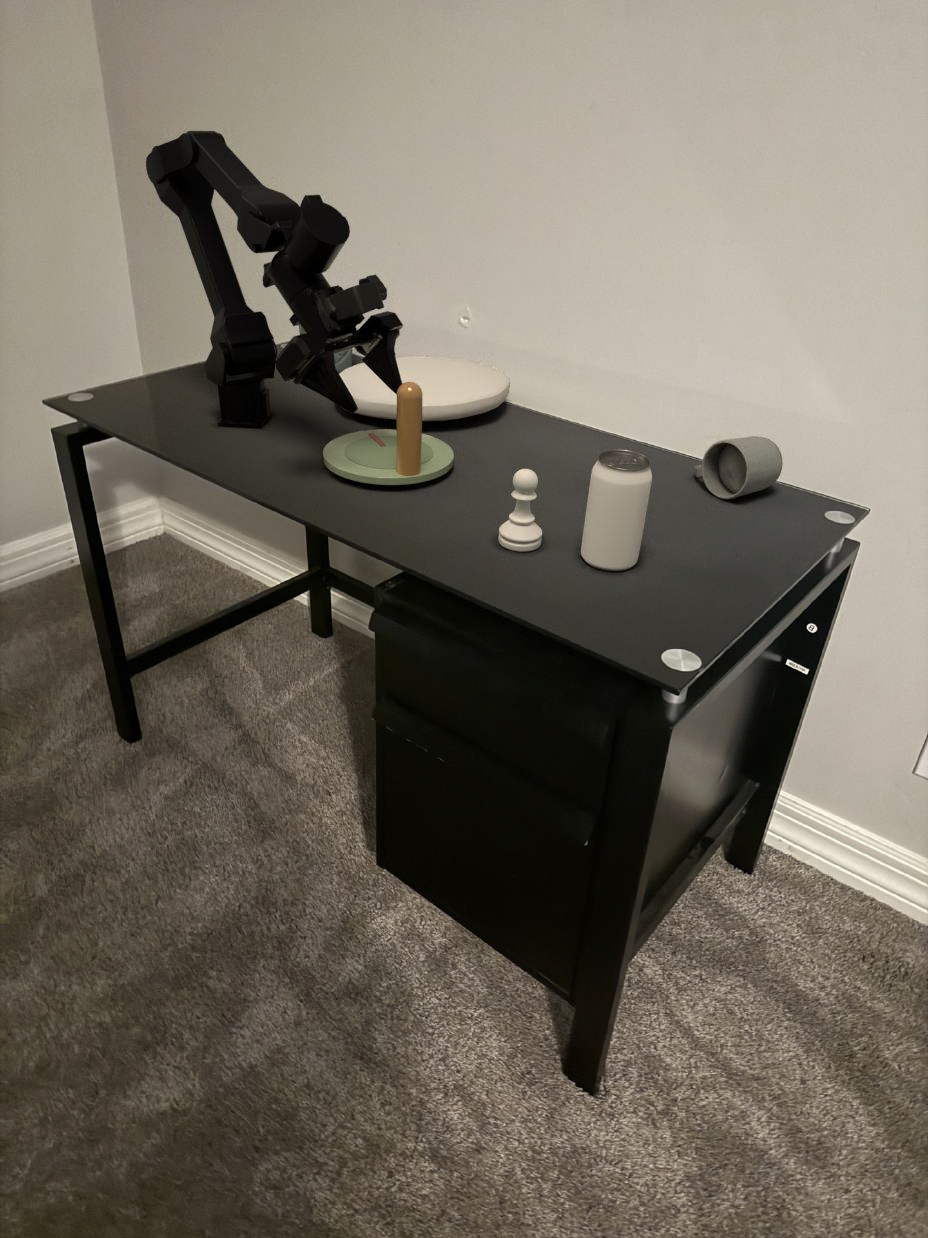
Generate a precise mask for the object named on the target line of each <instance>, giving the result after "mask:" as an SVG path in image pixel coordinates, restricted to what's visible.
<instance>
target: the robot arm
mask: <svg viewBox="0 0 928 1238" xmlns="http://www.w3.org/2000/svg"><path fill="white" fill-rule="evenodd" d="M145 169H146V174H147V176H148V179H149V181H150V182H151V183H152V185H153V187H154V189H155V191H156V193H157V194H156V195H157V196H158V198H159V200H160V202H161V203H163V205H165V206H166V207H167V208H168V209H169V210H170V211H171V212H172V213H173V214H174V215H175V216H177V218H178V220H179V222H180V225H181V228H182V231H183V233H184V236H185V239H186V243H187V245H188V248H189V249H190V250H189V251H190V254H191V255H192V258H193V261H194V264H195V267H196V270H197V272H198V276H199V277H200V281H201V283H202V286H203V289H204V292H205V295H206V298H207V301H208V304H209V306H210V309H211V312H212V315H213V323H212V327H211V331H210V336H209V341H210V344H211V347H212V348H211V350H210V351H209V354H208V356H207V358H206V360H205V362H204V365H203V367H204V371H205V375H206V379H207V380H208V381H209V382H212V384H215V385H216V386H217V392H218V394H217V395H218V403H219V413H220V418H219V419H218V420H217V425H218V426H230V427H245V428H246V427H248V428H261V427H263V426H264V424H265V423H266V421H267V420H268V419H269V417H270V415H271V414H272V413H271V401H270V388H269V387H266V382H265V380H268V379H270V380H272V379H274V378H275V372H276V371H277V372H278V374H279V375H280V376H281V377H280V378H282V380H283V381H284V382H288V381H292V380H293V381H292V382H293V384H295V385H296V386H297V385H302V386H303V387H306V388H307V389H309V390H311V391H313V392H315V393H317V394H319V395H320V396H322V397H324V398H325V399H328V400H329V401H331V402H332V403H333V404H336V405H337V406H339V407H340V408H341V409H343V408H344V409H345V410H344V409H343V410H344V411H346V410H347V412H348V413H350V414H356V413H355V412H356V411H357V410H358V407H357V405H356V403H355V401H354V399H353V397H352V395H351V393H350V392H349V390H348V388H347V387H346V385H345V383H344V382H343V380H342V378H341V377H340V375H339V374H340V372H337V370H336V368H335V360H334V354H335V353H338V352H341V351H344V350H348V349H351V348H352V349H353V348H354V349H355V351H356V352H357V353H358V354H359V355H362V356H364V357H363V358H362V359H361V361H362V363H365V364H366V365H367V366H368V367H369V368H370V369H371V370H372V371H373V372H374V373H375V374H376V375H377V376H378V377H379V378H380V379H381V380H382V381H383V382H384V383H385V384H386V385H387V386H388V387H389V388H390V389H391V390H392V391H393V392H394V393H395V394H397V390H398V388H399V387H400V385H402V381H401V377H400V373H399V369H398V365H397V361H396V357H397V356H396V352H395V349H396V348H395V347H396V342H397V339H398V338H399V337H400V336H401V335H400V334H401V332H400V331H401V330H402V329H403V327H404V324H403V322H402V321H401V319H400V318H399V317H398V314H397V313H396V312H393V311H389V310H386V311H382V312H379V313H375V314H372V315H370V316H369V317H368V318H367V319H366V317H365V315H364V314H368V313H369V312H372V311H374V310H378V311H380V310H382V309H384V308H385V304H384V301H385V300H387V299H388V288H387V287H386V286H385V284H384V283H383V282H382V281H381V279H380V277H378V275H377V273H376V274H371V275H367V276H366V277H364V278H363V277H362V278H360V279H359V280H358V284H357V285H353V286H349V287H347V288H345V289H344V288H343V287H342V286H340V285H339V284H337V285H333V286H332V285H330V283H329V281H328V280H327V279H326V277H325V275H324V273H326V272H327V271H328V270H329V269H330V268H331V266H332V265H333V263H334V262H335V260H336V259H337V257H338V255H339V254H340V252H341V250H342V249H343V247H344V246H345V244H346V243H347V241H348V239H349V238H350V234H351V229H350V227H351V226H350V224H349V221H348V219H347V217H346V216H344V215H343V214H342V213H341V212H340V211H339V210H338V209H337V208H336V207H334V206H333V205H330V204H329V203H326V202H324V201H323V198H322V196H321V195H320V194H306V195H305V194H304V196H303V198H302V200H301V202H300V204H298V203H297V201H294V200H293V198H291V197H289V196H288V195H287V194H285V193H283V192H281V191H278V190H275V189H272V188H269V187H267V186H265V184H263V183H262V182H261V181H260V179H258V178H257V176H255V174H254V173H253V172H252V171H251V170H250V169H249V168H248V167H247V166H246V164H245V163H243V161H242V160H241V159H240V158H239V157H238V156H237V155H236V154H235V152H233V150H232V149H231V148H230V147H229V146H228V145H227V142H226V140H225V137H224V135H223V134H222V133H220V132H217V131H216V130H187V131H186V132H183V133H182V134H180V135H179V136H178V137H177V138H175V139H171V140H169V141H168V142H164V143H162V144H159V145H154V146H153V147H152V149H151V152H149V153H148V154H147V156H146V158H145ZM215 192H216V193H217V194H218V195H219V196H220V197H221V199H222V200H223V201H224V202H225V203H226V205H228V207H229V208H230V209H231V210H232V211H233V213H234V214H235V216H236V218H237V223H236V230H237V233H238V234H239V235H240V237H241V238H242V240H243V242H244V243H245V244H246V246H247V248H248V249H249V250H250V251H251V252H253V254H266V253H275V254H274V255H273V257H272V259H271V261H270V262H265V263H264V264H263V275H262V286H263V287H264V288H269V287H272V286H275V288H276V289H277V291H278V292H279V294H280V295H281V297H282V298H283V300H284V302H285V303H286V305H287V306H288V308H289V309H290V311H291V312H292V315H291V316H290V317H289V318H288V320H289V322H290V323H291V325H292V326H293V327H297V326H299V325H301V326H302V327H303V329H304V330H305V332H306V333H305V334H301V335H300V334H298V335H294V336H292V338H291V339H290V340H289V341H288V342H287V343H286V345H285V346H284V347H283V348H282V349H281V351H280V352H279V353H278V348H277V345H276V341H275V340H274V339H275V337H274V335H273V334H272V332H271V330H270V327H269V324H268V320H267V317H266V315H265V314H264V312H263V311H254V310H253V309H251V307H249V306H248V304H247V301H246V299H245V296H244V293H243V291H242V288H241V284H240V283H239V279H238V277H237V273H236V271H235V268H234V265H233V262H232V259H231V257H230V254H229V251H228V248H227V245H226V242H225V239H224V237H223V234H222V231H221V228H220V225H219V223H218V220H217V216H216V214H215V210H214V208H213V204H212V203H213V199H214V195H215V194H214V193H215ZM365 319H366V320H365ZM363 321H364V323H363V324H362V322H363ZM360 324H362V325H361V326H360V327H359V328H357V326H358V325H360ZM347 340H348V341H347ZM346 341H347V342H346Z"/></svg>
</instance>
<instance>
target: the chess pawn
mask: <svg viewBox="0 0 928 1238" xmlns="http://www.w3.org/2000/svg"><path fill="white" fill-rule="evenodd" d="M538 484H539V477H538V476H537V473H536V472H535V471H533V469H531V468H522V469H519V470H518V471H516V472H515V473H514V475H513V477H512V485H513V488H514V489H513V491H511V495H510V496H511V497H512V498H513V499H516V502H515V506H514V510H513V511H512V512H511V513H510V514H509V515H508V519H507V520H506V521H505V522H504V523H502V524H501V525H500V526H499V527H498V532H499V533H498V539H497V540H498V544H500V546H501V547H503V548H504V549H507V550H509V551H512V552H519V553H528V552H532V551H536V550H537V549H539V548H540V546H541V545H542V539H543V538H542V537H543V530H542V528H541V527H540V526H539V525H538V524H537V523H536V522H535V519H536V517H535V515H534V514H533V513H532V510H531V501H533V500H536V498H537V497H538V494H537V493H536V492H535V490H536V489H537V488H538Z"/></svg>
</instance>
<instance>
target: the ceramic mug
mask: <svg viewBox="0 0 928 1238" xmlns="http://www.w3.org/2000/svg"><path fill="white" fill-rule="evenodd" d="M783 464H784V462H783V455H782V453H781V450H780V448H779V446H778V445H777V444H776V443H775V442H774V441H772V440H771V439H770V438H768V437H764V436H757V435H752V436H745V437H737V438H727V439H722V440H718V441H716V442H714V443H713V444H710V446H709V447H708V449H707V450H706V451H705V453H704V455H703V457H702V462H701V464H698V465H695V466H694V472H695V477H696V478H702V481H703V482H704V485H705V487H706V489H707V490H708V491H709V492H710V493H711V494H712V495H713V496H715V497H716V498H719V499H720V500H732V499H736V498H739V497H742V496H746V495H749V494H752V493H756V492H759V491H764V490H765V489H767V488H769V487H771V486H772V485H774V484H775V483H776V482H777V481H778V479H779V477H780V476H781V473H782V470H783Z"/></svg>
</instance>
